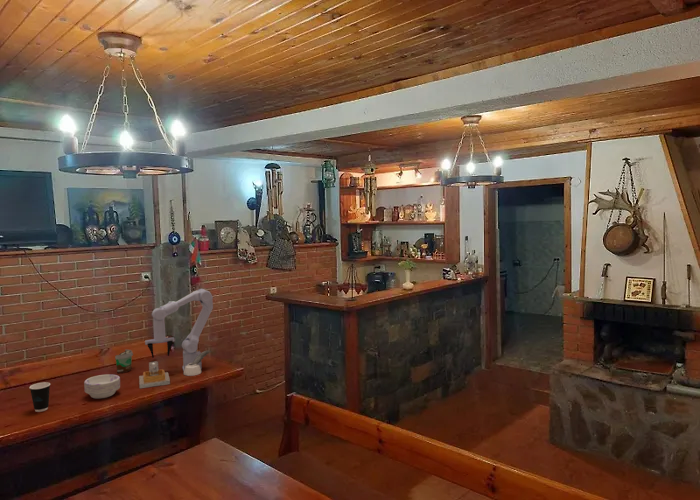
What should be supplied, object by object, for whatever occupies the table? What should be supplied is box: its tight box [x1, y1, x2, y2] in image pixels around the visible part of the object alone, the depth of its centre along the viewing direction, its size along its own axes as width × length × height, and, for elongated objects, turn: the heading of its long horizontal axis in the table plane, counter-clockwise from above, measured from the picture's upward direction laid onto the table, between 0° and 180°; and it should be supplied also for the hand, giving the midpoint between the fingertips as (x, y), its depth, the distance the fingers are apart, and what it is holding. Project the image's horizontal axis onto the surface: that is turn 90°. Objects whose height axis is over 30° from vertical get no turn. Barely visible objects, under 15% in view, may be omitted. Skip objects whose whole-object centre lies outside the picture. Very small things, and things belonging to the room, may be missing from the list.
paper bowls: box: [83, 373, 121, 400], centre depth 239 cm, size 15×15×8 cm
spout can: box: [148, 360, 160, 376], centre depth 255 cm, size 4×7×8 cm
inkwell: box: [183, 349, 212, 377], centre depth 273 cm, size 9×18×10 cm, turn 149°
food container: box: [114, 348, 134, 374], centre depth 276 cm, size 12×6×10 cm, turn 179°
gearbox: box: [138, 369, 171, 389], centre depth 257 cm, size 14×14×4 cm
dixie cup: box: [29, 381, 51, 413], centre depth 222 cm, size 8×8×11 cm
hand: (160, 356), depth 269 cm, fingers open, 7 cm apart
